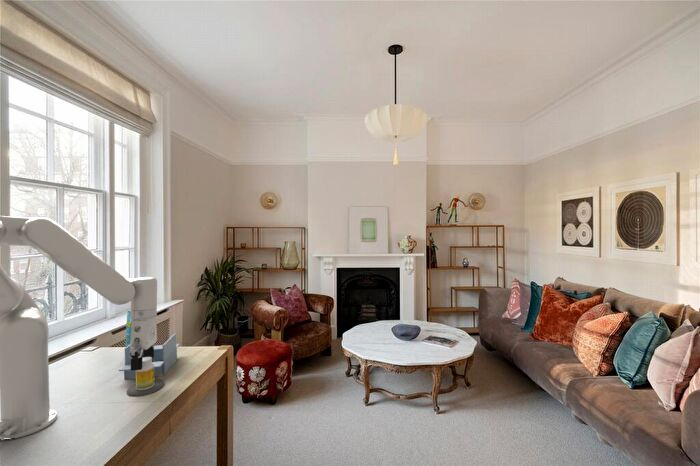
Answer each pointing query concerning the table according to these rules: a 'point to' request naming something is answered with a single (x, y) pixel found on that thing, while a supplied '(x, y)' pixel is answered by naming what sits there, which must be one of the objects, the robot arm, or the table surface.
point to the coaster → (157, 386)
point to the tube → (128, 328)
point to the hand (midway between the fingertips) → (142, 363)
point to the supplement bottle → (145, 375)
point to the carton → (161, 352)
